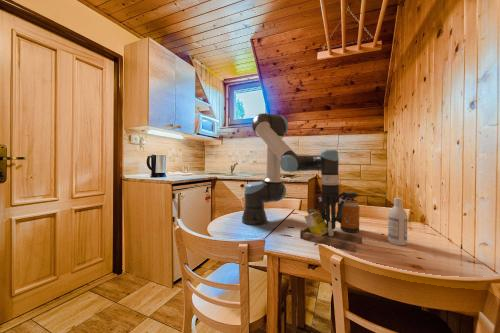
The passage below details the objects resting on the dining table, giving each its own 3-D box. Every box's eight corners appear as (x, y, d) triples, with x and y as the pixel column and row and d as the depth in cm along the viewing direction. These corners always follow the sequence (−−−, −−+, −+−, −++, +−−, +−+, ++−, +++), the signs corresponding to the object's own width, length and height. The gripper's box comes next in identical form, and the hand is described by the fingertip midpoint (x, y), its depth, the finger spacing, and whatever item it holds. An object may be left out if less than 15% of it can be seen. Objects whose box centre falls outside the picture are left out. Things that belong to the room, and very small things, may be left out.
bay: (295, 237, 103) (295, 213, 103) (308, 229, 115) (309, 208, 114) (355, 252, 86) (355, 224, 86) (363, 240, 98) (364, 216, 97)
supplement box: (330, 233, 99) (321, 210, 102) (321, 237, 96) (312, 214, 99) (321, 234, 104) (312, 212, 107) (312, 238, 101) (303, 216, 104)
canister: (361, 233, 107) (362, 193, 106) (338, 232, 109) (338, 193, 109) (356, 228, 116) (356, 191, 115) (334, 227, 118) (335, 190, 117)
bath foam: (402, 240, 98) (403, 197, 97) (410, 246, 91) (411, 199, 91) (385, 239, 100) (386, 196, 99) (391, 245, 93) (392, 199, 92)
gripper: (313, 184, 99) (314, 234, 100) (342, 185, 91) (343, 240, 91) (319, 182, 105) (320, 230, 105) (347, 183, 97) (348, 235, 97)
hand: (331, 235), depth 98 cm, fingers closed
